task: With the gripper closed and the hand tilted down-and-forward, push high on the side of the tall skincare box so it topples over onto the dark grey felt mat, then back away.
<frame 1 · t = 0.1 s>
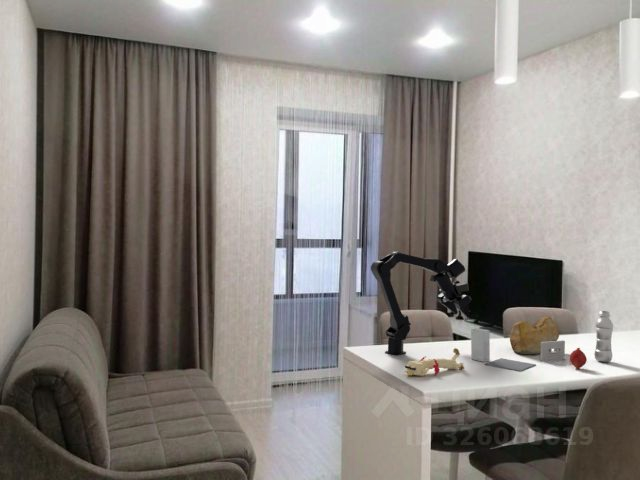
hand: (462, 315, 242), 15 cm above the table, fingers open, 9 cm apart
plastic bottle: (603, 362, 225), on the table
cassette: (552, 361, 226), on the table
felt mat: (510, 365, 216), on the table
cat figure: (433, 373, 202), on the table
rough brown rock: (529, 351, 243), on the table
skincare box: (479, 360, 223), on the table
onion: (577, 369, 212), on the table
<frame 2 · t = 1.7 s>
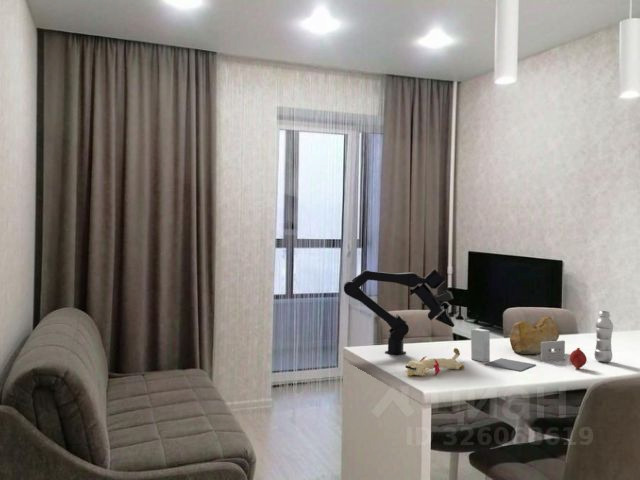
hand: (453, 326, 227), 12 cm above the table, fingers closed
nothing on the table moved.
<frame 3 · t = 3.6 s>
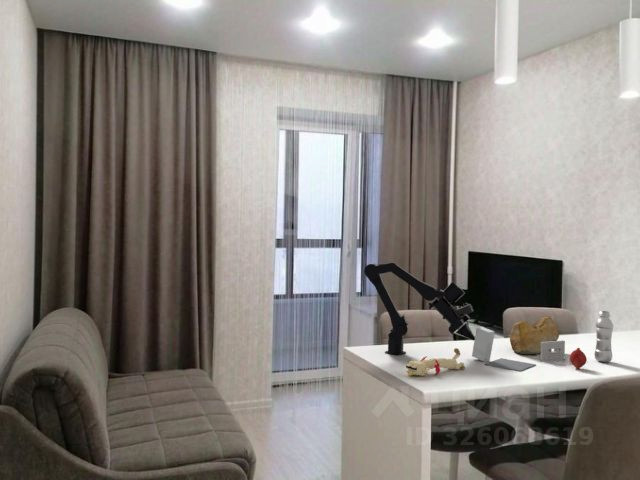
hand: (474, 339, 224), 8 cm above the table, fingers closed
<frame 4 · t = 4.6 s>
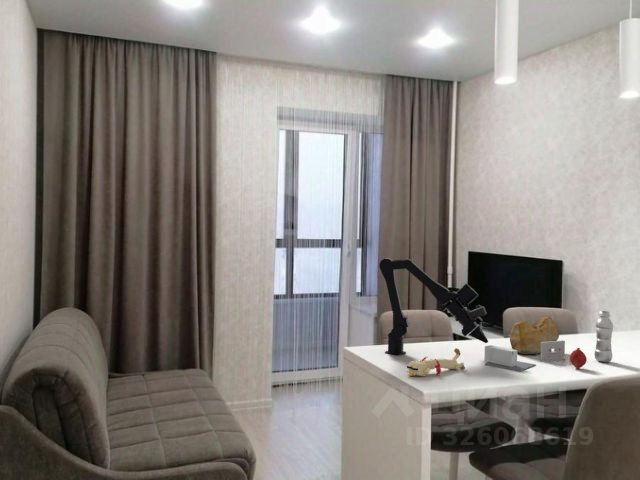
hand: (487, 342, 222), 7 cm above the table, fingers closed
skincare box: (486, 352, 221), point 3 cm above the table, touching felt mat
everything else where it was.
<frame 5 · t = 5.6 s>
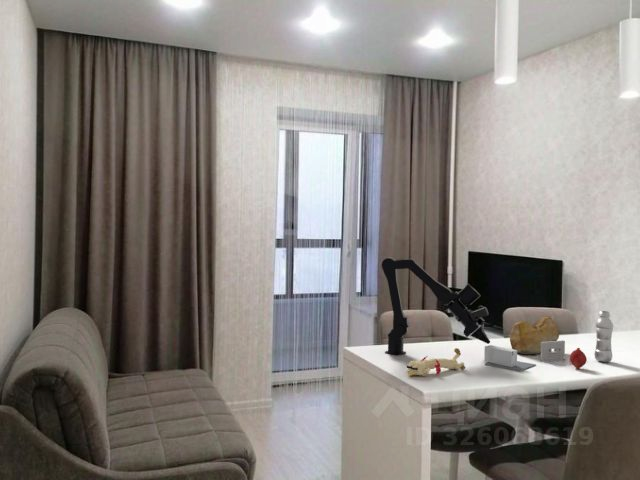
hand: (489, 343, 222), 7 cm above the table, fingers closed
nothing on the table moved.
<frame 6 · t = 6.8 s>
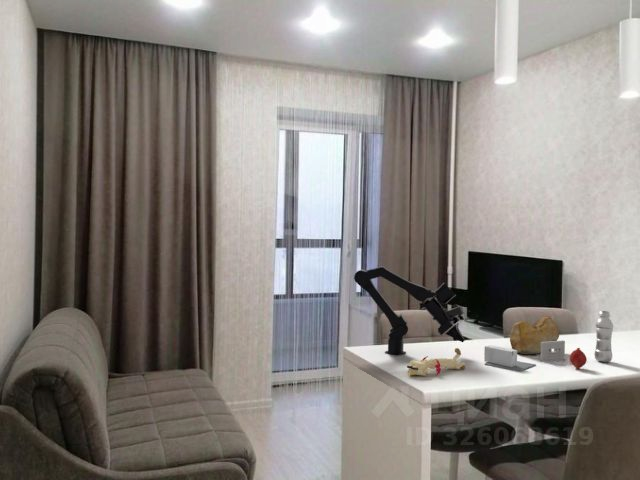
hand: (463, 341, 226), 7 cm above the table, fingers closed
nothing on the table moved.
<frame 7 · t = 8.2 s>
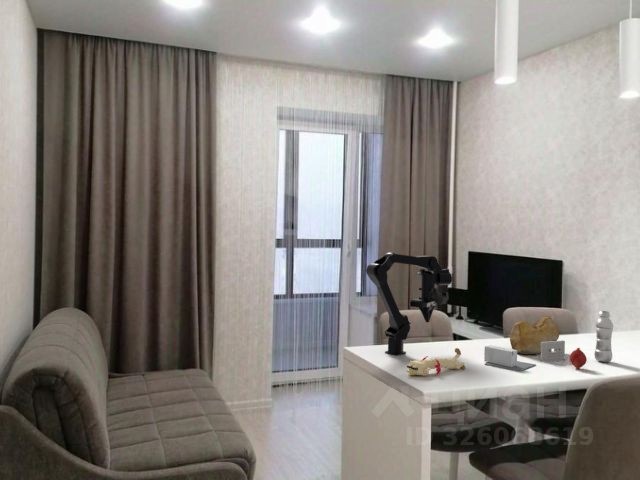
hand: (427, 322, 239), 12 cm above the table, fingers closed
nothing on the table moved.
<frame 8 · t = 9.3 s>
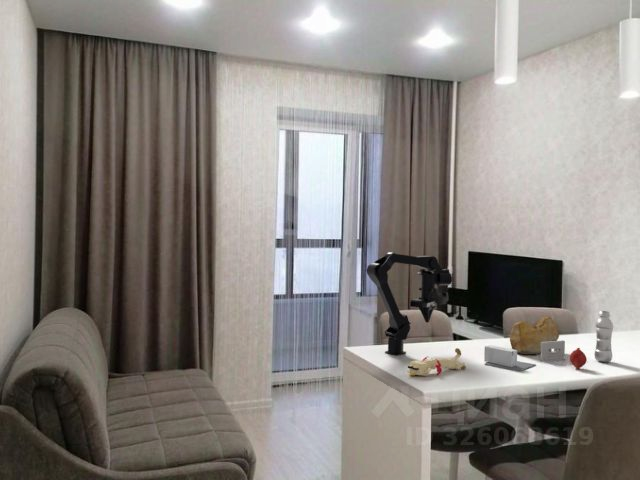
hand: (427, 322, 239), 12 cm above the table, fingers closed
nothing on the table moved.
at the end: skincare box tilted 91°; skincare box inside the target area (7.3 cm from its centre), point 3.5 cm above the table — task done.
